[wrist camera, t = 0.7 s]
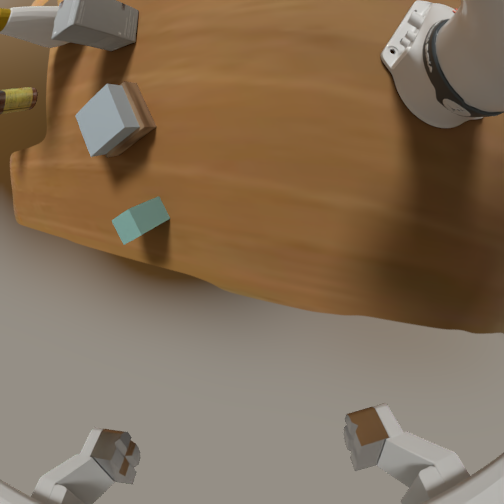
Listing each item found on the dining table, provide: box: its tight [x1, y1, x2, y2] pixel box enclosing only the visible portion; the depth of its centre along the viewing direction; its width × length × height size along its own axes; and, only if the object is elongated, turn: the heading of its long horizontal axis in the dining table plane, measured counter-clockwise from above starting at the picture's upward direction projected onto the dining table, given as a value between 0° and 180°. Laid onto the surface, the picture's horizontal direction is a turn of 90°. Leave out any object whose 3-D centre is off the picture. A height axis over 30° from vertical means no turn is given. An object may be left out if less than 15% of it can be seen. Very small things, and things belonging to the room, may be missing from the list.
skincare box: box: [51, 0, 138, 51], centre depth 30 cm, size 8×7×16 cm
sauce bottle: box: [0, 87, 37, 114], centre depth 38 cm, size 7×6×20 cm
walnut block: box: [105, 81, 156, 157], centre depth 42 cm, size 10×10×4 cm
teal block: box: [112, 197, 170, 245], centre depth 45 cm, size 4×4×9 cm
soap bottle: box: [0, 6, 69, 48], centre depth 25 cm, size 13×10×29 cm
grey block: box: [75, 84, 140, 157], centre depth 39 cm, size 9×9×4 cm
